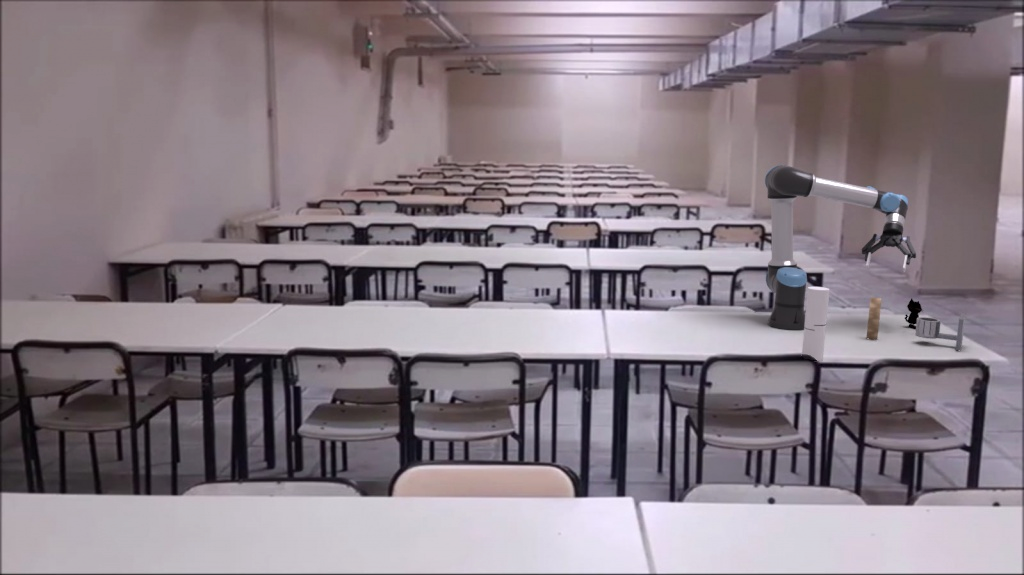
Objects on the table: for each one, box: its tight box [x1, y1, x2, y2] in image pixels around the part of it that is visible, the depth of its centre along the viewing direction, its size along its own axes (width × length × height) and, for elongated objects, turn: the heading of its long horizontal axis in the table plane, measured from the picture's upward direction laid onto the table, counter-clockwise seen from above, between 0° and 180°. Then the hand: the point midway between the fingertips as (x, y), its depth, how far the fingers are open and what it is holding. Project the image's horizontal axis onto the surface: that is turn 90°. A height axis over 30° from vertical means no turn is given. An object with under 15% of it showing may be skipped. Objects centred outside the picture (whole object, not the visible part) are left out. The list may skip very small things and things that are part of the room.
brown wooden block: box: [865, 296, 883, 340], centre depth 350 cm, size 4×4×16 cm
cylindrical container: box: [801, 286, 830, 362], centre depth 315 cm, size 7×7×25 cm
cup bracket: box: [915, 313, 967, 351], centre depth 343 cm, size 16×12×12 cm
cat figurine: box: [904, 297, 924, 330], centre depth 374 cm, size 7×7×12 cm
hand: (885, 268), depth 358 cm, fingers open, 13 cm apart
